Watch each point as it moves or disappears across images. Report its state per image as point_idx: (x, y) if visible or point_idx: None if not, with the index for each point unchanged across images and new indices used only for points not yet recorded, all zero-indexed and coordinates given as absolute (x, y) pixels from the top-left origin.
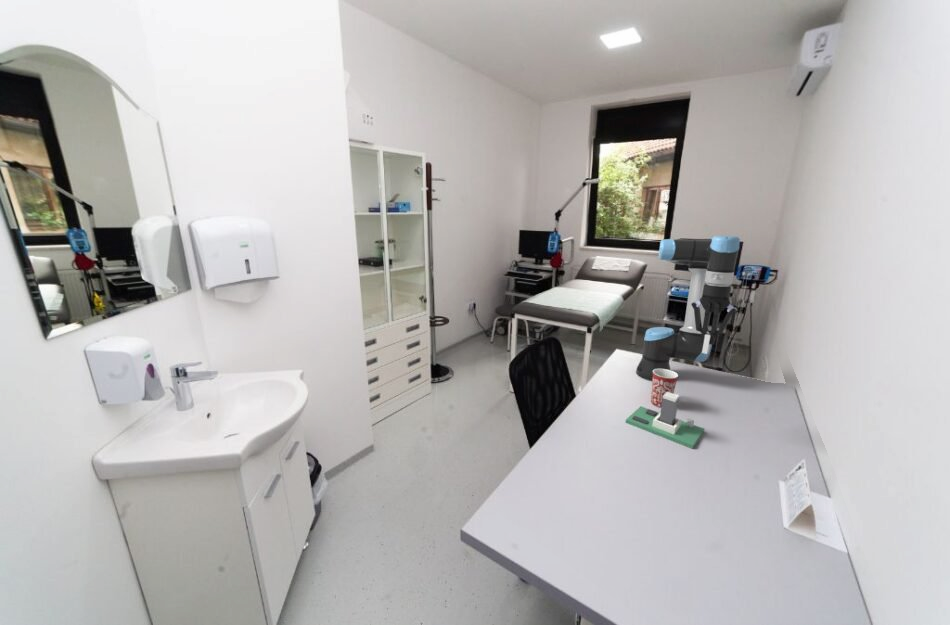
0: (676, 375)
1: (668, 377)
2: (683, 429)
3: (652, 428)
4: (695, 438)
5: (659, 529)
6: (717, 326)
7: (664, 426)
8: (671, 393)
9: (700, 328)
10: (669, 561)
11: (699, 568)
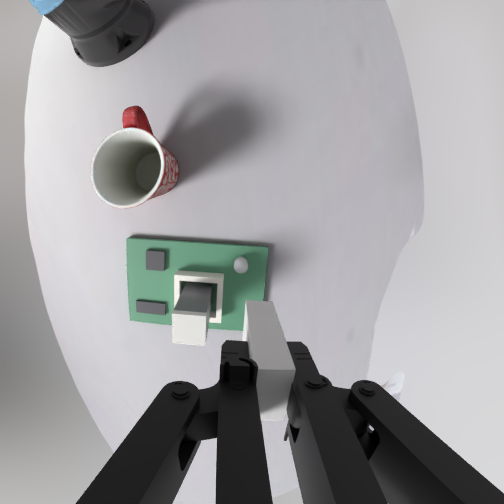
0: (158, 149)
1: (140, 138)
2: (232, 284)
3: None
4: None
5: None
6: (350, 431)
7: None
8: (184, 316)
9: (199, 439)
10: (271, 478)
11: (291, 472)
